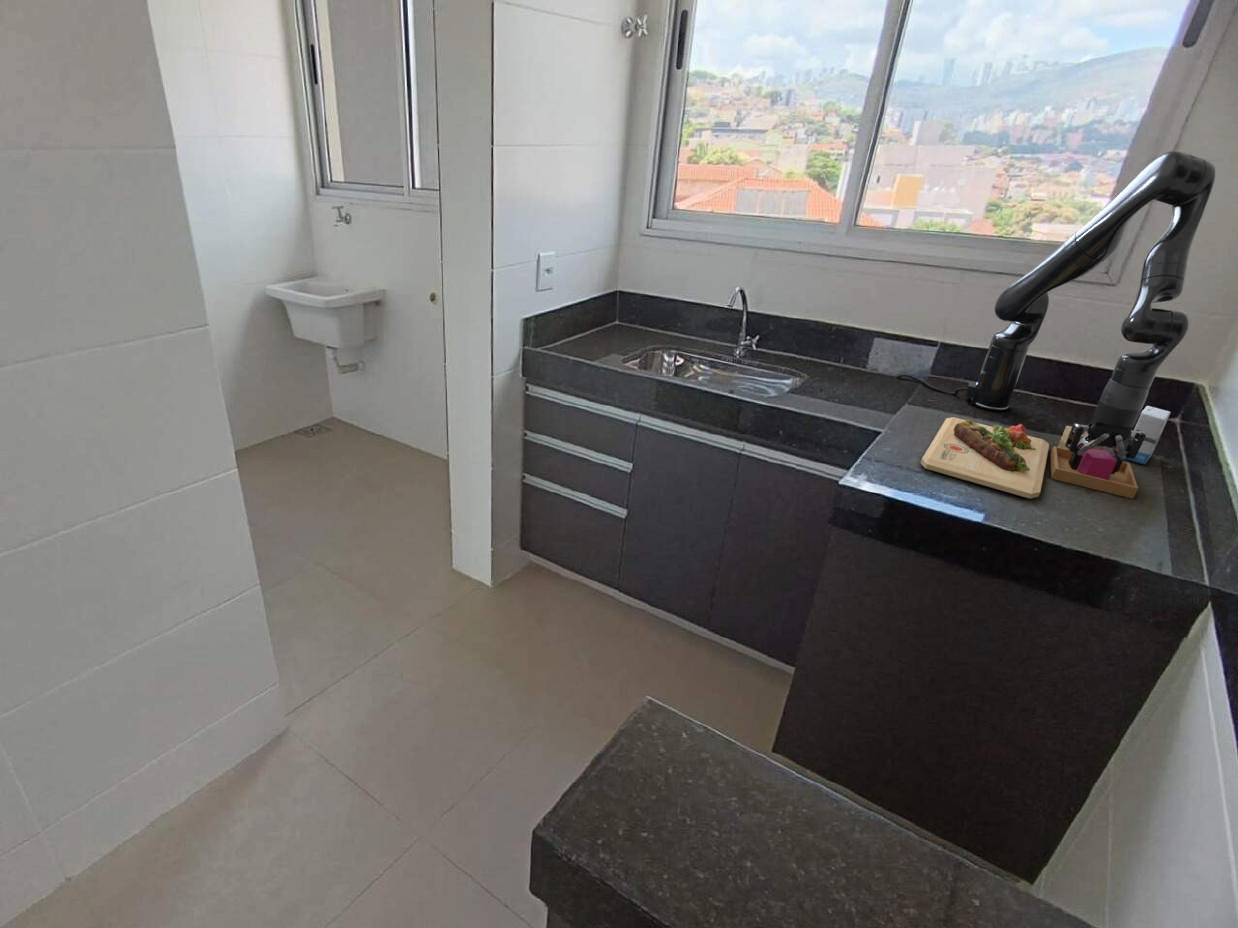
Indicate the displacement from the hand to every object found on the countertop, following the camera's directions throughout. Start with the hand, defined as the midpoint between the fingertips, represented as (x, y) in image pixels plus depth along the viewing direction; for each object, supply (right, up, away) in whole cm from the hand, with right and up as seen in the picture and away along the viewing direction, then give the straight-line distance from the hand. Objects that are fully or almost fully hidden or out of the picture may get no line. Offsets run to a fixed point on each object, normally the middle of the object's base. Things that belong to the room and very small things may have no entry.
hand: (1091, 470), depth 147 cm
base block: (+4, +4, +11) cm, 12 cm away
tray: (0, -1, +1) cm, 1 cm away
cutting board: (-20, +3, +6) cm, 21 cm away
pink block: (0, -1, 0) cm, 1 cm away
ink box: (+19, +3, +12) cm, 23 cm away
